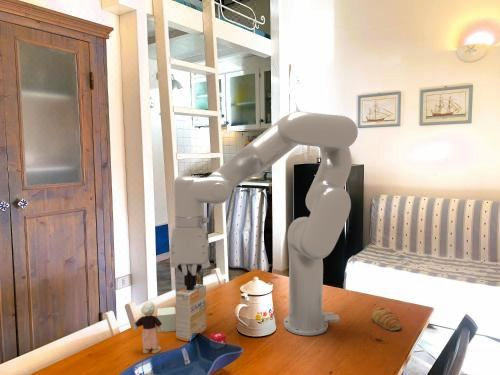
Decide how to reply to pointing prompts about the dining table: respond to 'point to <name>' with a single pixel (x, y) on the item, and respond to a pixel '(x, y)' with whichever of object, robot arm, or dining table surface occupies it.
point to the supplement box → (190, 311)
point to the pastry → (386, 319)
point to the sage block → (167, 318)
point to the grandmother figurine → (149, 328)
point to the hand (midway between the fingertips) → (190, 288)
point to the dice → (218, 337)
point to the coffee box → (180, 278)
